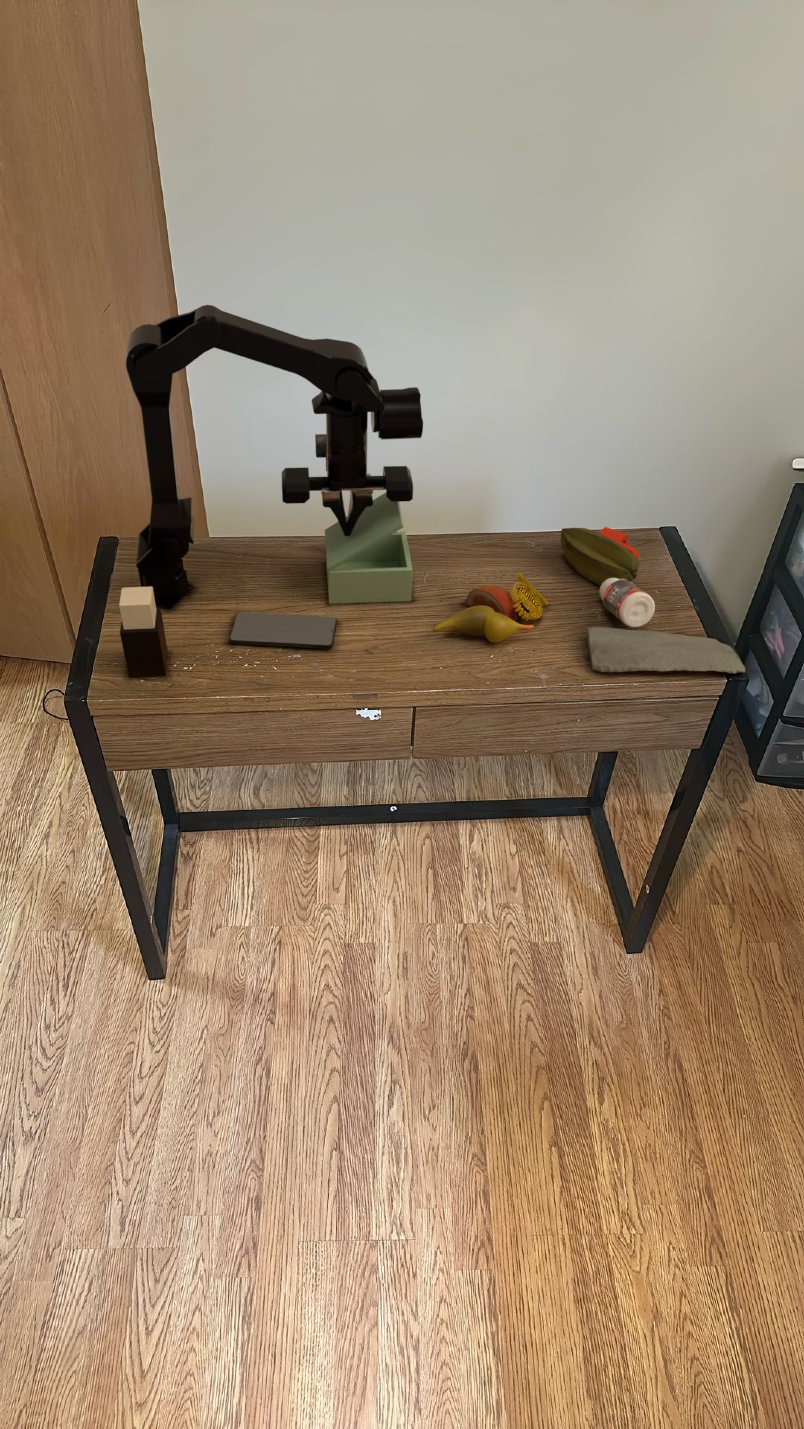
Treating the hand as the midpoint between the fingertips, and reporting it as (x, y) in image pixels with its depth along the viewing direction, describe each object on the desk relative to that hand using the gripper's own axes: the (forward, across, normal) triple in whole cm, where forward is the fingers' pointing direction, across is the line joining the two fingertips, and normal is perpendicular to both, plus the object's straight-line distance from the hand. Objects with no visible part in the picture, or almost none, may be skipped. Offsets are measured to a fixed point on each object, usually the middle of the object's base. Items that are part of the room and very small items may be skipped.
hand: (347, 534), depth 145 cm
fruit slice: (+5, -23, +7) cm, 25 cm away
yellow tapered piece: (+7, -19, +11) cm, 23 cm away
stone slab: (+9, -45, +15) cm, 49 cm away
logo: (+6, -28, +6) cm, 29 cm away
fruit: (+6, -43, -3) cm, 43 cm away
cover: (-1, -3, 0) cm, 3 cm away
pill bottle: (+4, -42, +16) cm, 45 cm away
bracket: (+7, -42, -4) cm, 43 cm away
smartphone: (+9, +10, +12) cm, 18 cm away
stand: (+9, +29, +18) cm, 35 cm away
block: (+1, +29, +18) cm, 34 cm away
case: (+9, -3, 0) cm, 9 cm away
